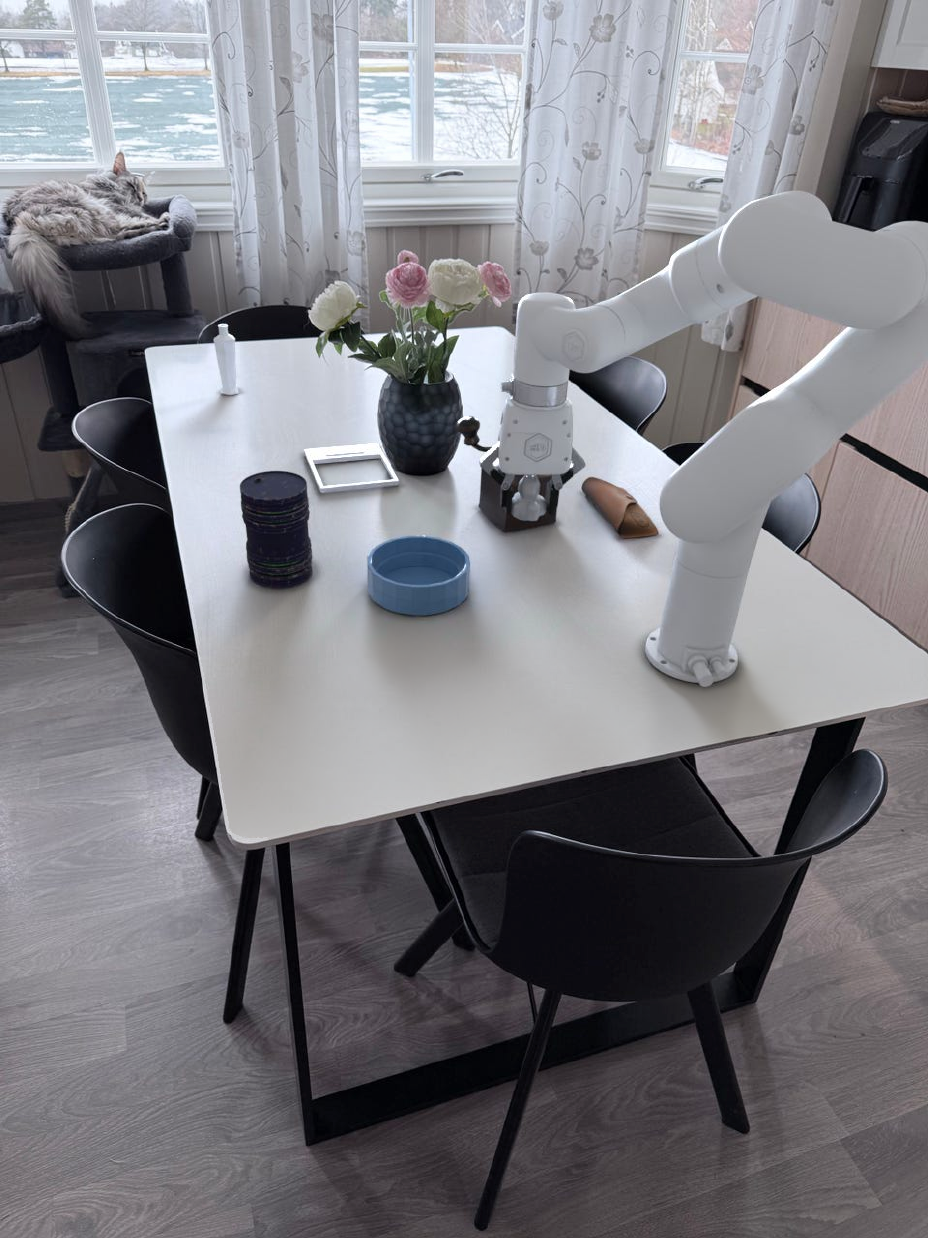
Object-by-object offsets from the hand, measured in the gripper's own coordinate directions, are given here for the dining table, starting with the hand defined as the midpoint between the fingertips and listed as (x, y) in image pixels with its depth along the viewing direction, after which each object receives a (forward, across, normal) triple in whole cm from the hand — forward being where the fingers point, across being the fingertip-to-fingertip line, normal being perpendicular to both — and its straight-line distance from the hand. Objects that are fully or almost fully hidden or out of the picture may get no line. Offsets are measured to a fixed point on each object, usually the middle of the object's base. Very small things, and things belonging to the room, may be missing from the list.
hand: (528, 509), depth 130 cm
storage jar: (+13, -37, +5) cm, 40 cm away
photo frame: (+13, -27, +43) cm, 52 cm away
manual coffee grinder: (+13, 0, +23) cm, 27 cm away
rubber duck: (+2, 0, 0) cm, 2 cm away
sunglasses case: (+13, +21, +24) cm, 35 cm away
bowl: (+13, -16, -1) cm, 21 cm away
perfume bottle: (+14, -55, +85) cm, 102 cm away
